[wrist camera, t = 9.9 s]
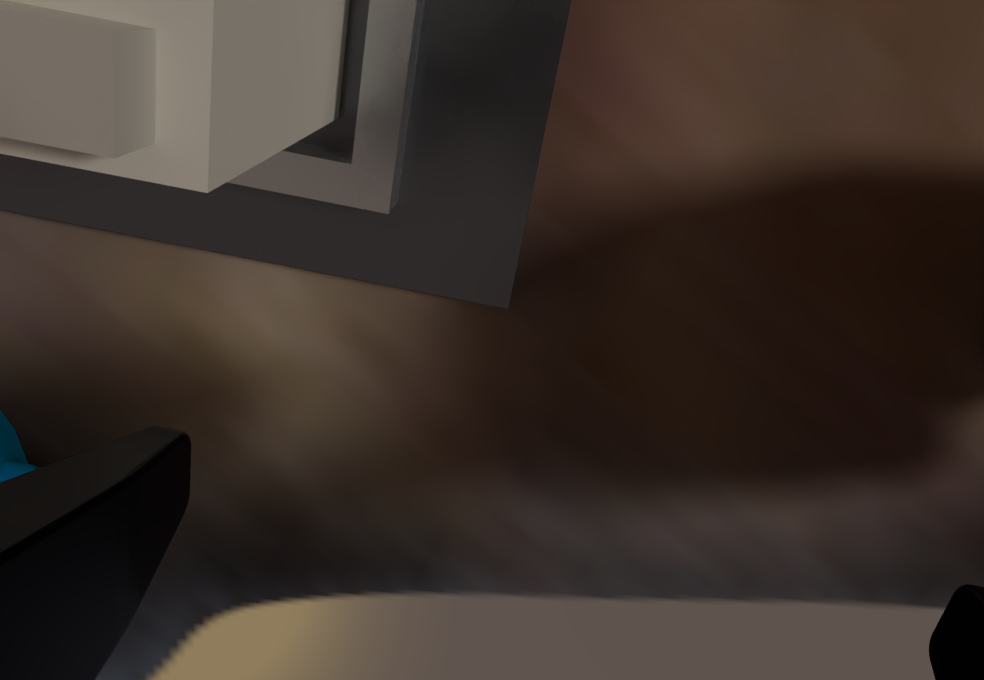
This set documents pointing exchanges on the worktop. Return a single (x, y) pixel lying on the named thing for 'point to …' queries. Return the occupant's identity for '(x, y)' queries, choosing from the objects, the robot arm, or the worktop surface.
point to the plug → (167, 83)
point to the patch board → (369, 160)
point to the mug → (11, 452)
